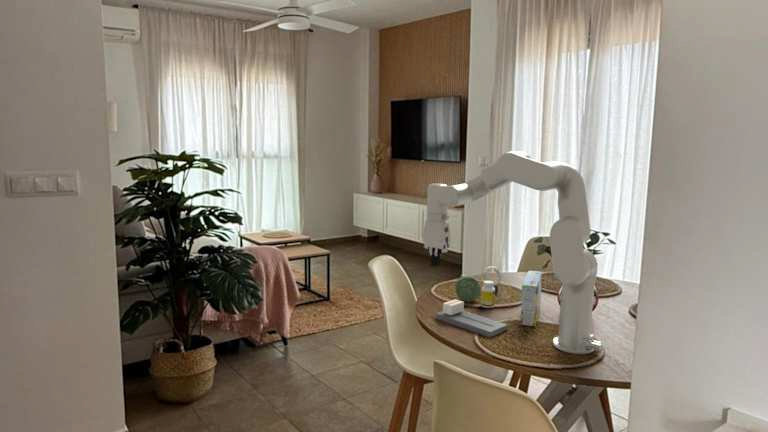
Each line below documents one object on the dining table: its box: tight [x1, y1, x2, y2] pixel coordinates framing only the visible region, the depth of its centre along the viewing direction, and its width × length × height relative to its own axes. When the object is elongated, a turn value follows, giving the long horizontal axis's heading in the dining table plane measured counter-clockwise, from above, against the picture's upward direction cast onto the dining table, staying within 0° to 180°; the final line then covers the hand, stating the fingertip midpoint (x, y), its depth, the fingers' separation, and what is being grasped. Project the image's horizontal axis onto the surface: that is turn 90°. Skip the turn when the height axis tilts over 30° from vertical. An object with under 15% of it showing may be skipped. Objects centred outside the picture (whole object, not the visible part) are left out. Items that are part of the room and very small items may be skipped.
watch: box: [482, 265, 503, 294], centre depth 222 cm, size 6×8×11 cm
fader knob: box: [442, 298, 465, 315], centre depth 189 cm, size 4×7×4 cm, turn 133°
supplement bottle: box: [479, 280, 496, 309], centre depth 203 cm, size 5×5×10 cm
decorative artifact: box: [454, 275, 481, 302], centre depth 208 cm, size 10×7×10 cm
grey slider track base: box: [435, 310, 509, 338], centre depth 184 cm, size 24×10×2 cm, turn 43°
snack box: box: [520, 270, 543, 328], centre depth 191 cm, size 21×6×15 cm, turn 159°
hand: (435, 265), depth 194 cm, fingers closed
